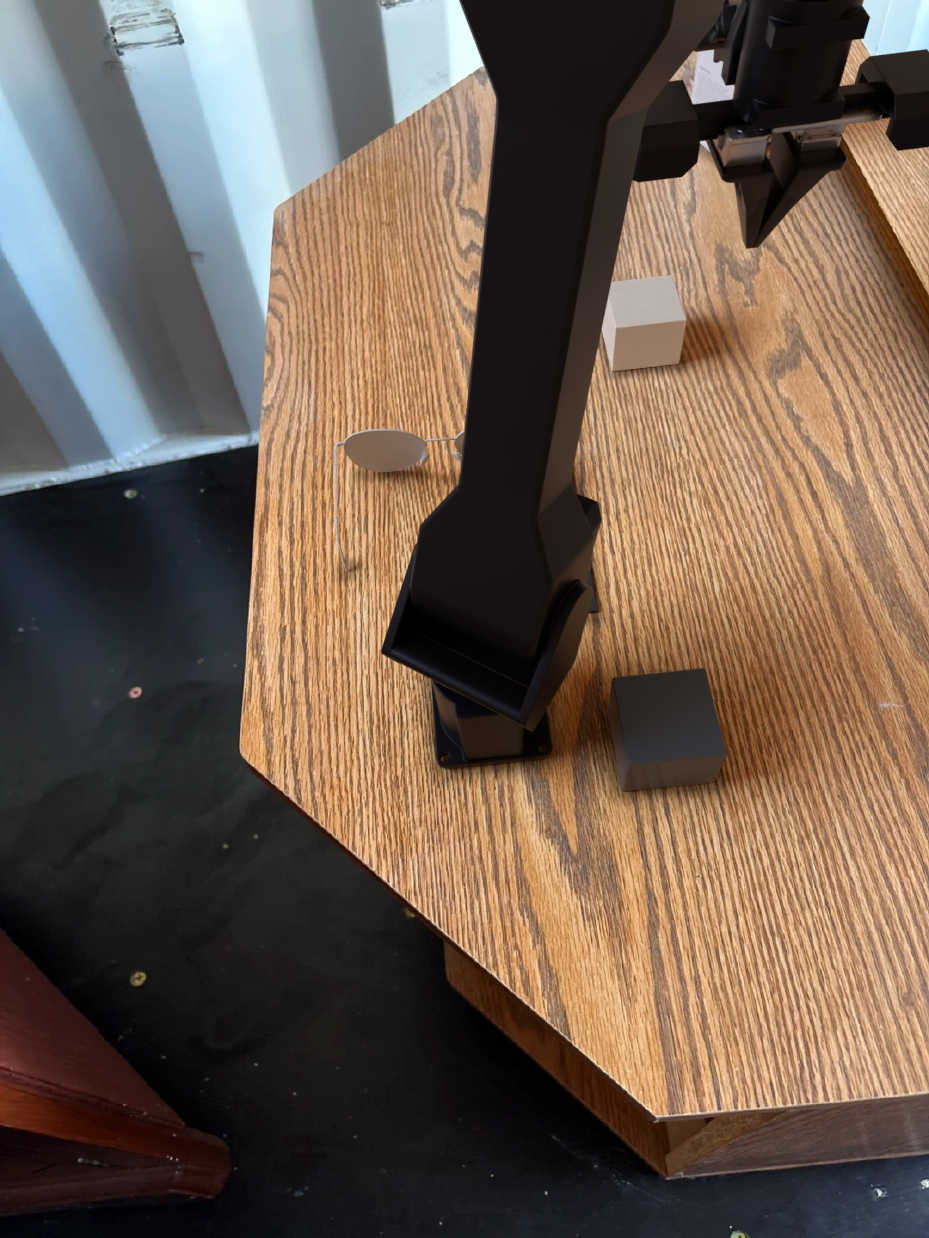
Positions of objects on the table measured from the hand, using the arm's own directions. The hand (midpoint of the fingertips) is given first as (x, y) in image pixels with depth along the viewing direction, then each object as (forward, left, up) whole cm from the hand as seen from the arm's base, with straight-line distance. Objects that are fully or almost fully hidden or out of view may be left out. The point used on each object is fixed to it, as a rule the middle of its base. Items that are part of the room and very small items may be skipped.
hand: (750, 244), depth 57 cm
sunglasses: (-14, +22, -8) cm, 28 cm away
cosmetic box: (+26, -7, -8) cm, 28 cm away
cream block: (0, +7, -8) cm, 10 cm away
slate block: (-32, +12, -8) cm, 35 cm away
